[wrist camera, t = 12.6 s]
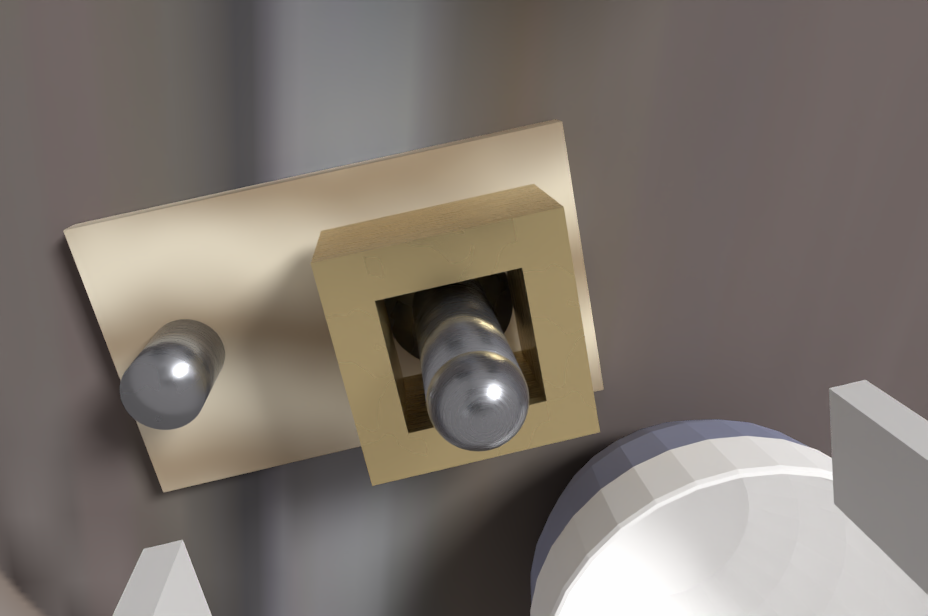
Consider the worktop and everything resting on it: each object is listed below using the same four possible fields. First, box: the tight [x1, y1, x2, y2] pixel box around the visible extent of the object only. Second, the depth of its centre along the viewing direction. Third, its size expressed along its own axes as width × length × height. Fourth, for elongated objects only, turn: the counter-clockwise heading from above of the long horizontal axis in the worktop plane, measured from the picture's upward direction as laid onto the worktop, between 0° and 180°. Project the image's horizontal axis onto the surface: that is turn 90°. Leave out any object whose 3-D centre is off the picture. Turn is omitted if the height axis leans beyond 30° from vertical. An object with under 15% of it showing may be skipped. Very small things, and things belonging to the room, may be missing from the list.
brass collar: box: [311, 184, 600, 486], centre depth 28 cm, size 8×8×5 cm
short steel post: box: [120, 319, 225, 430], centre depth 30 cm, size 3×3×4 cm
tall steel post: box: [384, 272, 529, 451], centre depth 26 cm, size 5×5×12 cm
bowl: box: [530, 419, 928, 616], centre depth 34 cm, size 16×16×10 cm
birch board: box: [63, 119, 604, 492], centre depth 33 cm, size 12×20×1 cm, turn 102°
